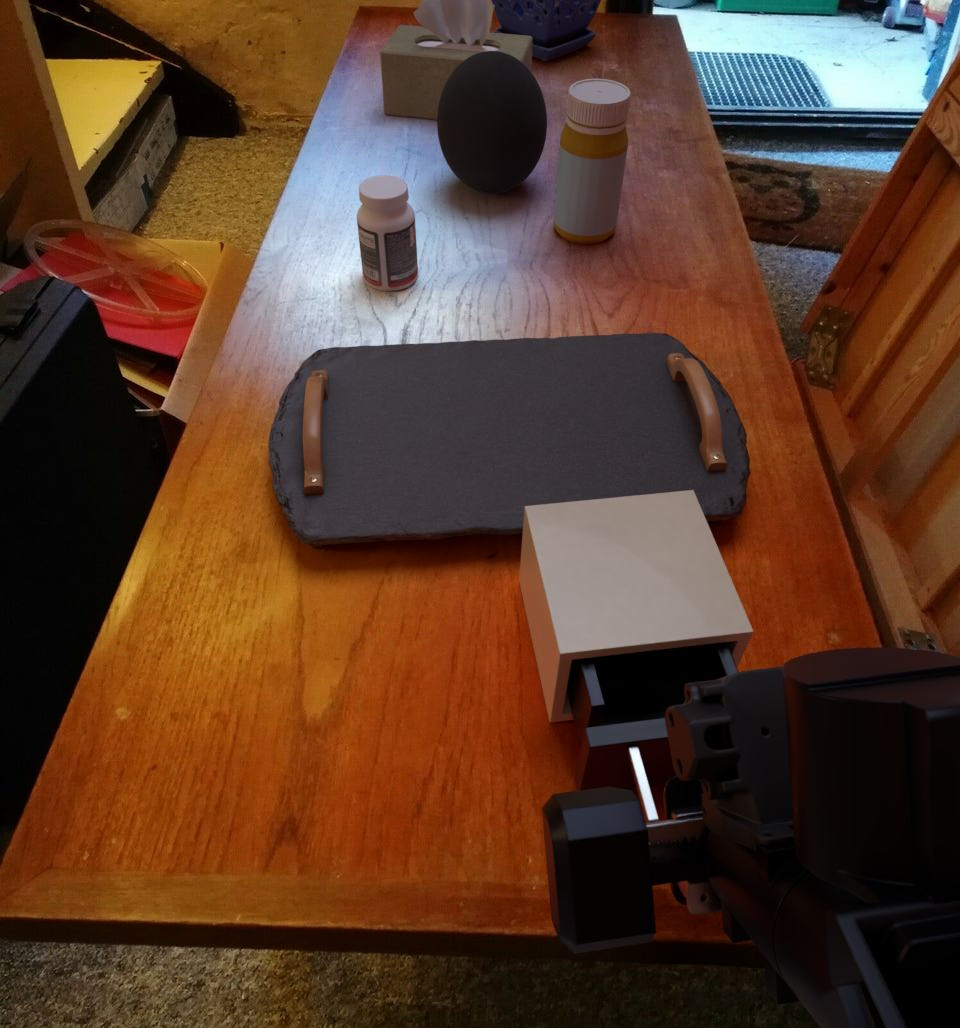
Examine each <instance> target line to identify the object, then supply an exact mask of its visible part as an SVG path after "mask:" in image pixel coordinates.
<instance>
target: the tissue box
mask: <svg viewBox="0 0 960 1028" xmlns="http://www.w3.org/2000/svg"><path fill="white" fill-rule="evenodd" d="M494 7H495V5H494V4H493V3H492V1H491V0H421V2H420V4H419V6H418V8H417V9H415V10H414V11H413V12H412V14H413V16H414V18H415V20H416V21H417V23H418V24H419V25H420V26H419V25H407V24H399V25H398V26H397V28H395V29H396V30H395V31H394V32H393V33H392V35H391V36H390V38H389V39H388V40H387V42H386V43H385V45H384V46H383V47H382V49H381V50H380V52H379V56H380V57H379V58H380V73H381V88H382V100H383V102H382V103H383V114H384V115H386V116H395V117H404V118H413V119H414V118H415V119H425V120H433V121H437V113H438V105H439V101H440V97H441V94H442V91H443V88H444V86H445V84H446V82H447V80H448V78H449V77H450V75H451V74H452V72H453V71H454V70H455V69H456V68H457V66H458V65H459V64H461V63H462V62H463V61H464V60H466V59H467V58H469V57H470V56H472V55H475V54H477V53H480V52H485V51H498V52H503V53H506V54H509V55H511V56H513V57H515V58H516V59H518V60H519V61H521V62H522V63H523V64H524V65H525V66H526V67H527V68H528V69H529V70H530V71H531V73H533V56H532V37H531V36H527V35H515V34H503V33H494V32H490V30H491V26H492V23H493V22H492V21H493V14H494V13H493V12H494V11H495V10H494Z"/></svg>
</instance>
